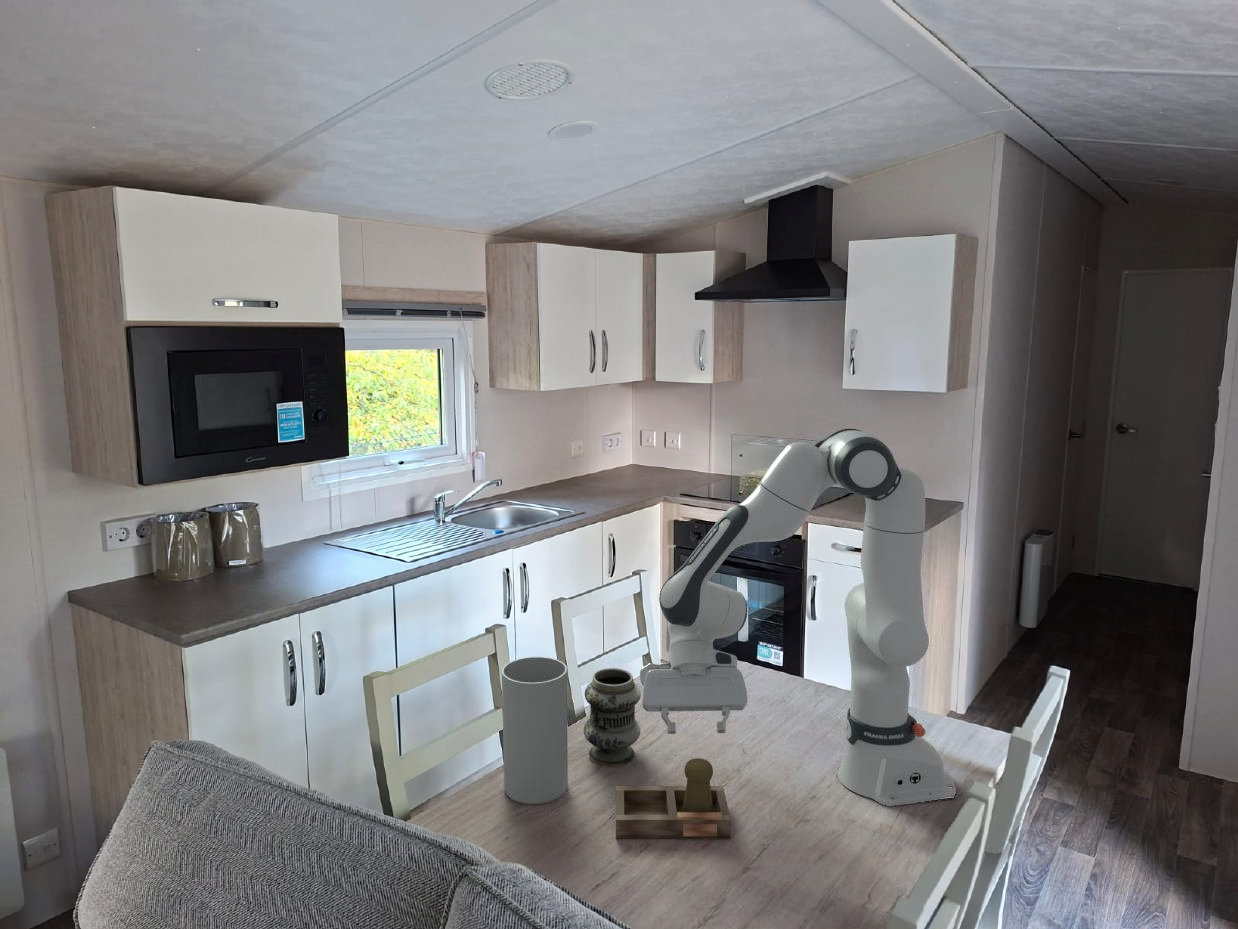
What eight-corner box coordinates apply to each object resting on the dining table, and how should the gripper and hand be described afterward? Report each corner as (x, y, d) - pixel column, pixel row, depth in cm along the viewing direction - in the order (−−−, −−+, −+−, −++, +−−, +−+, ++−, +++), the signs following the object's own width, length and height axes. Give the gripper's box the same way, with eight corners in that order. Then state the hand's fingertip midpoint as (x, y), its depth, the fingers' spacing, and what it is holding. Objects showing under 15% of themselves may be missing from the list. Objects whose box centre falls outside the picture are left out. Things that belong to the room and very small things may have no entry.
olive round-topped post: (712, 828, 154) (714, 772, 152) (679, 824, 155) (680, 769, 153) (715, 809, 160) (716, 755, 158) (683, 806, 161) (684, 752, 159)
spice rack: (722, 804, 163) (723, 783, 162) (730, 840, 152) (731, 818, 151) (615, 804, 163) (615, 783, 162) (615, 840, 152) (616, 818, 151)
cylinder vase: (493, 800, 164) (490, 678, 160) (519, 767, 176) (517, 653, 172) (554, 811, 161) (552, 687, 156) (576, 777, 172) (576, 661, 168)
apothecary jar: (617, 776, 173) (617, 693, 170) (572, 757, 180) (571, 677, 177) (651, 752, 182) (652, 673, 179) (607, 735, 190) (607, 659, 186)
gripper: (640, 657, 166) (642, 728, 158) (744, 656, 166) (752, 726, 158) (639, 669, 171) (641, 738, 163) (740, 668, 171) (747, 737, 163)
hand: (696, 732), depth 161 cm, fingers open, 8 cm apart
